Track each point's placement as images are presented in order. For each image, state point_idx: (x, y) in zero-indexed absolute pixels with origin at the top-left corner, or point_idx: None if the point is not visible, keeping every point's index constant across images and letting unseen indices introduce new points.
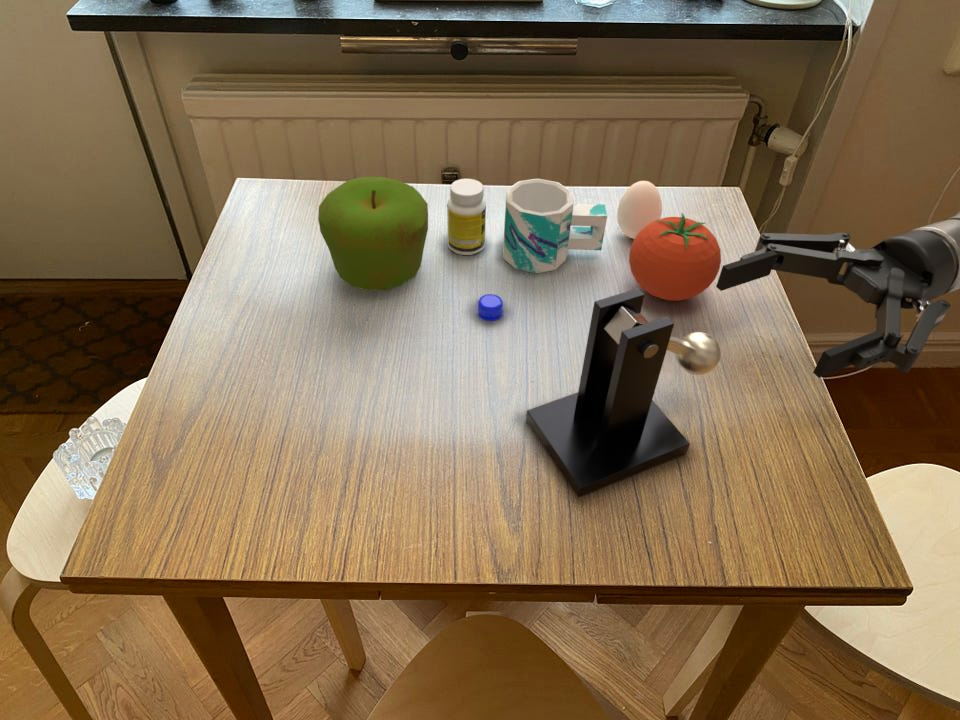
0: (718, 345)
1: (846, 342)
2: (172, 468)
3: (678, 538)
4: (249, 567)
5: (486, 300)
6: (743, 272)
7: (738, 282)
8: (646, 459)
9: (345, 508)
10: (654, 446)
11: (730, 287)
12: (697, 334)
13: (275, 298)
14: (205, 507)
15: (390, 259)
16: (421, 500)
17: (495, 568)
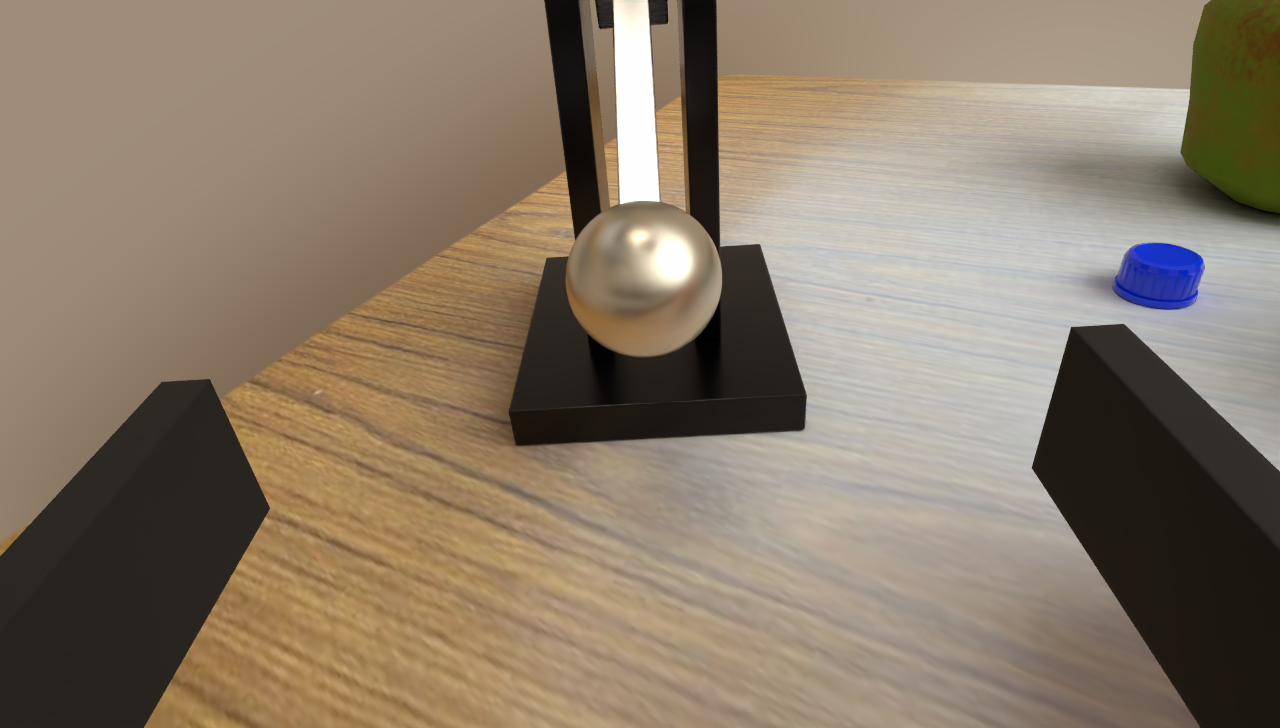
0: (602, 256)
1: (103, 508)
2: (810, 92)
3: (369, 359)
4: (656, 116)
5: (1167, 251)
6: (1142, 498)
7: (1108, 553)
8: (531, 336)
9: None
10: (551, 357)
11: (1068, 520)
12: (665, 205)
13: (1160, 124)
14: (746, 102)
15: (1208, 74)
16: (662, 184)
17: (516, 212)
